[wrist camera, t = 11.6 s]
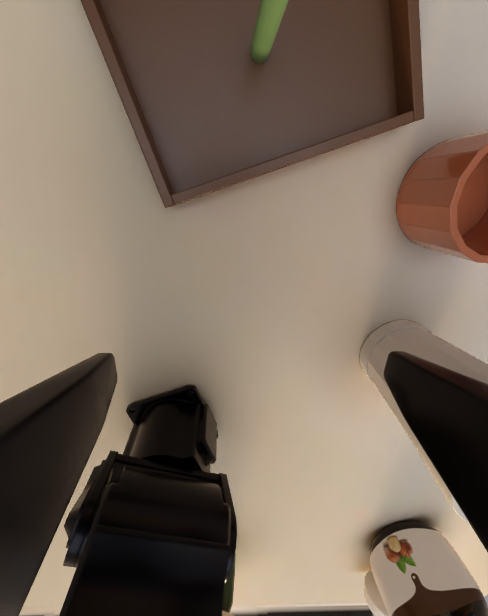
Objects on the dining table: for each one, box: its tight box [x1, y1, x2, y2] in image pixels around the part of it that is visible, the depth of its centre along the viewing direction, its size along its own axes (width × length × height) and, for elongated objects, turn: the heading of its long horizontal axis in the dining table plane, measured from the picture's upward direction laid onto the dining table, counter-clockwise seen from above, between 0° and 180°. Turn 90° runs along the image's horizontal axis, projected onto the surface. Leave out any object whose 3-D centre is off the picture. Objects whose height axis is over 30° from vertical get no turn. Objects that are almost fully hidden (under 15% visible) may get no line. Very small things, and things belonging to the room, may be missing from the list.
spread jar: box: [364, 521, 488, 616], centre depth 32 cm, size 12×11×12 cm
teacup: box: [397, 130, 488, 263], centre depth 18 cm, size 7×7×5 cm
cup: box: [360, 320, 488, 522], centre depth 20 cm, size 8×8×12 cm
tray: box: [81, 0, 424, 208], centre depth 15 cm, size 16×12×2 cm
